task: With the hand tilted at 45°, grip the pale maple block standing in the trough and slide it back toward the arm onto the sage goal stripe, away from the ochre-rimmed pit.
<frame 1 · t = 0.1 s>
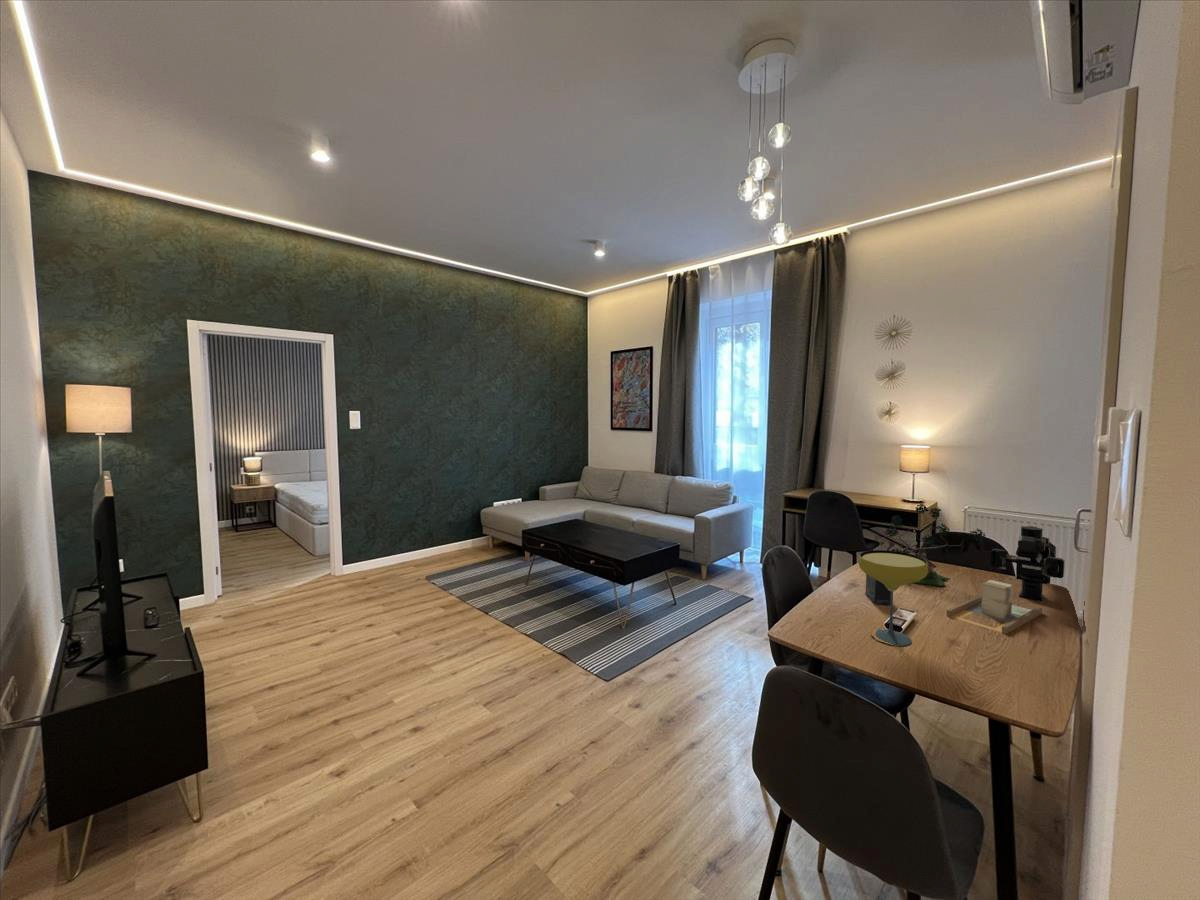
hand: (1022, 568, 161), 17 cm above the table, tool horizontal, fingers open, 9 cm apart
bonsai tree: (929, 583, 196), on the table
trough deck: (996, 618, 162), on the table
maple block: (996, 613, 162), point 1 cm above the table, touching trough deck
cocktail glass: (890, 638, 150), on the table
small box: (878, 600, 180), on the table
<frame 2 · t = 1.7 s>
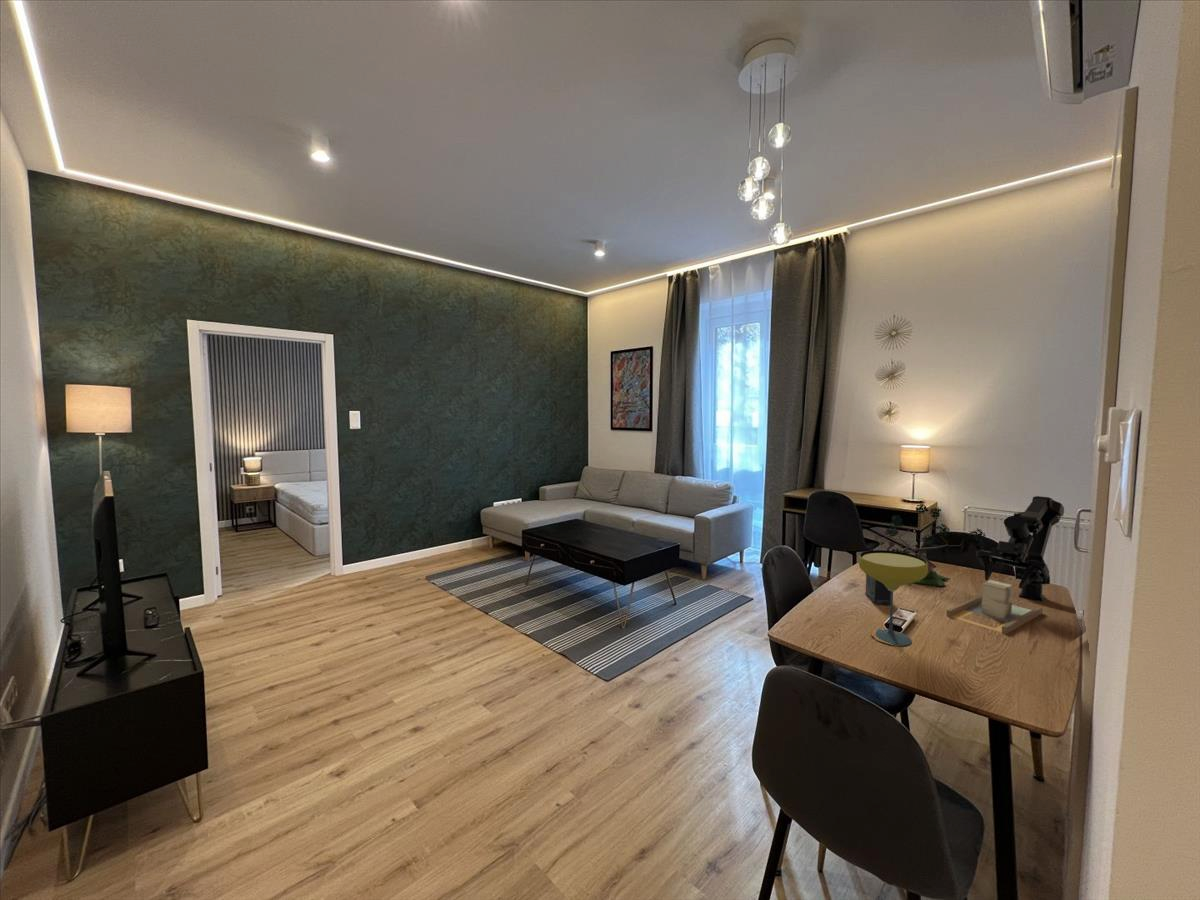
hand: (1002, 583, 163), 11 cm above the table, tool tilted 45°, fingers open, 9 cm apart
nothing on the table moved.
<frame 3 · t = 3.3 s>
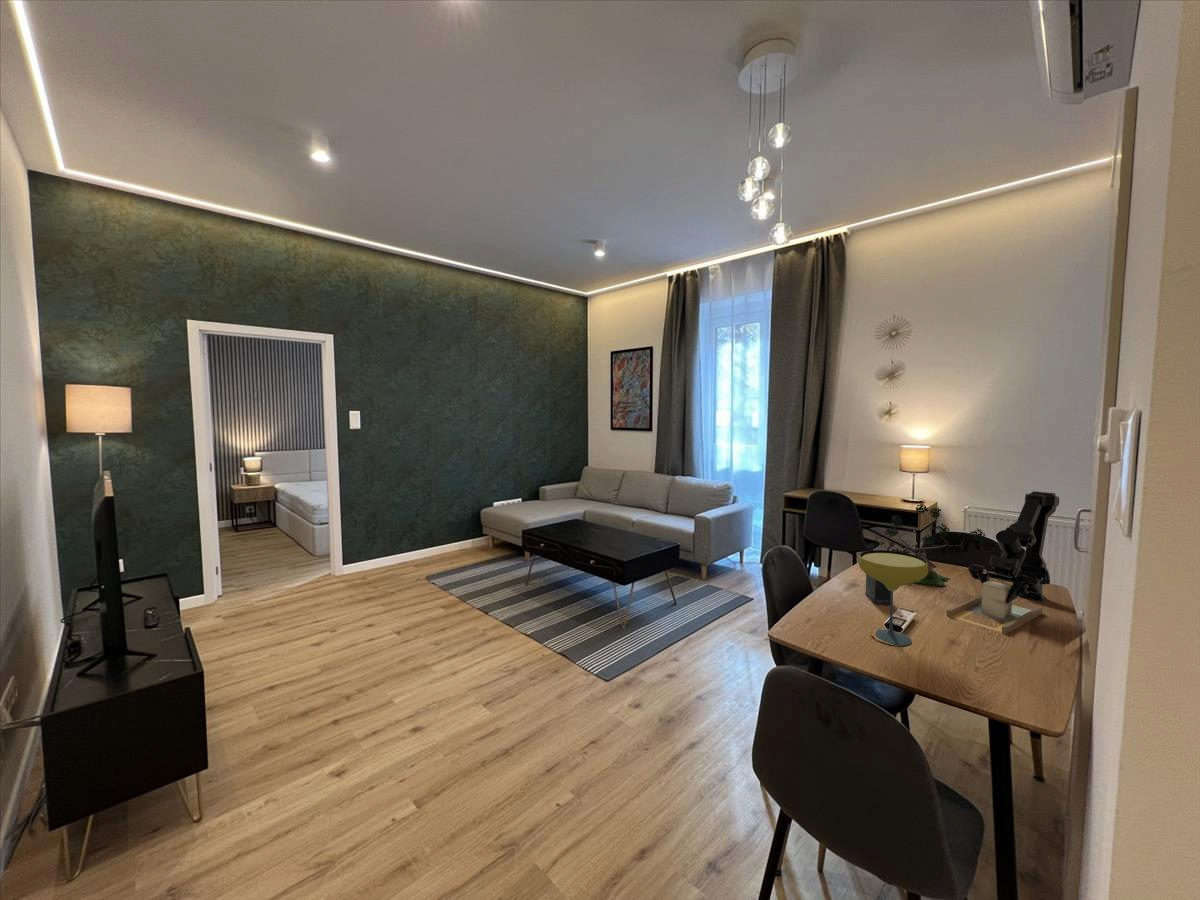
hand: (994, 599, 161), 7 cm above the table, tool tilted 45°, fingers closed on maple block, 6 cm apart
maple block: (996, 613, 162), point 2 cm above the table, touching gripper, trough deck
everything else where it was.
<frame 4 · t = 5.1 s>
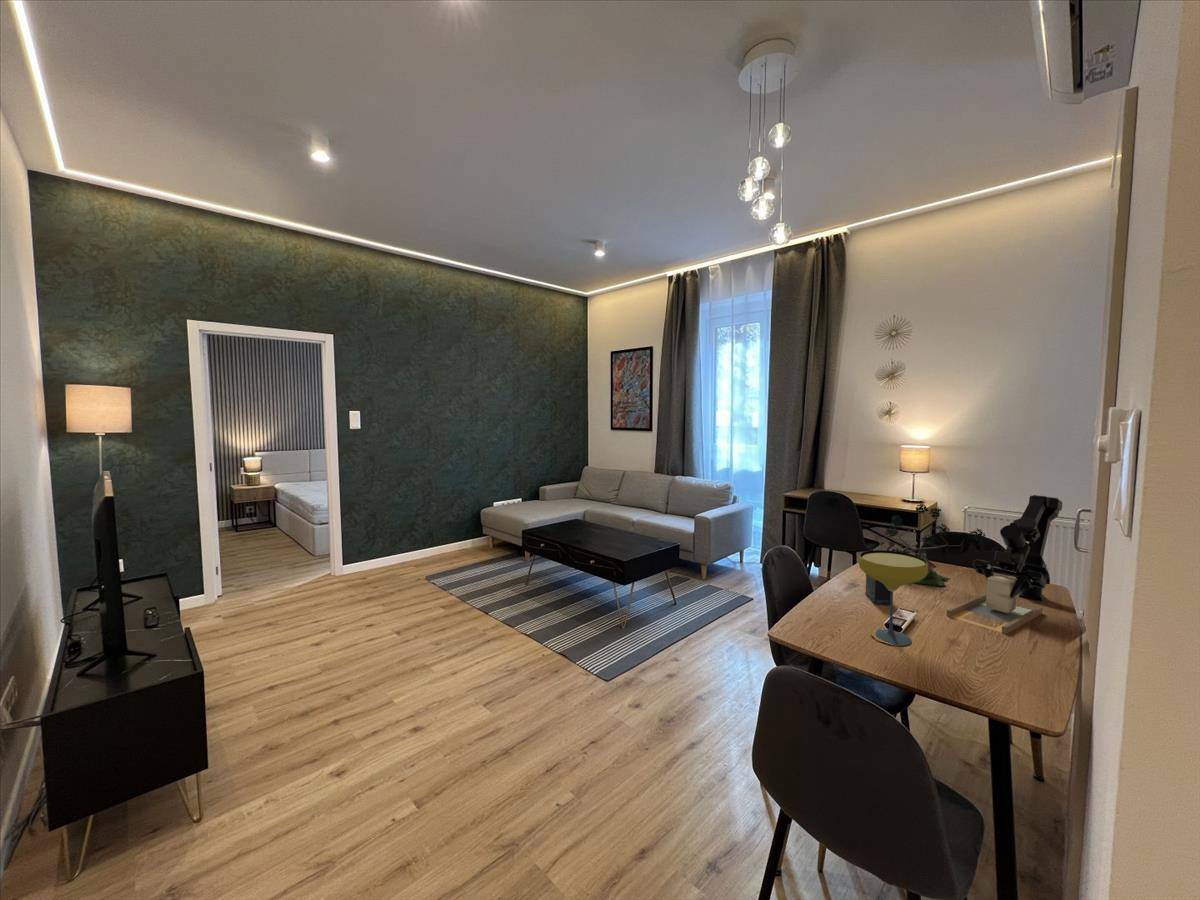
hand: (999, 594, 163), 8 cm above the table, tool tilted 45°, fingers closed on maple block, 6 cm apart
maple block: (1000, 608, 164), point 3 cm above the table, touching gripper
everything else where it was.
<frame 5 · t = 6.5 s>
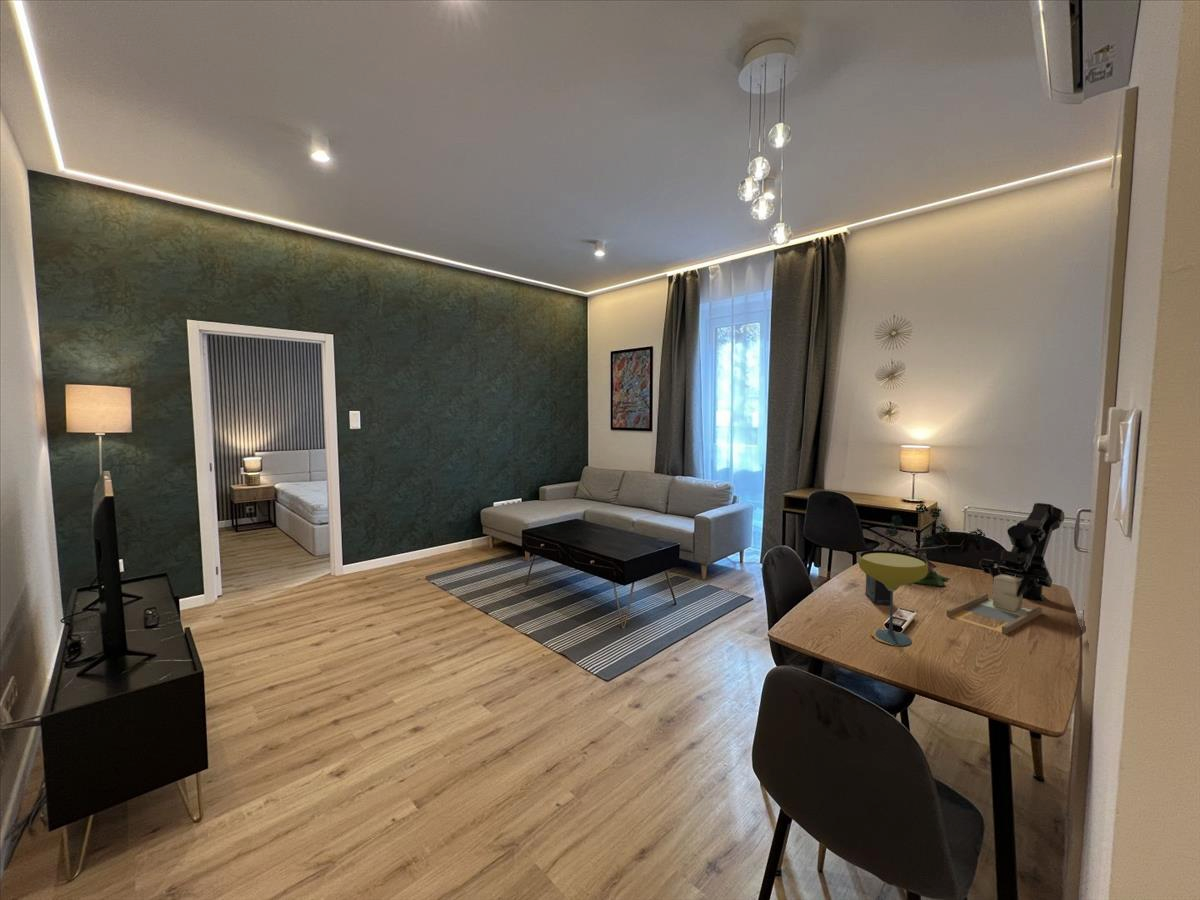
hand: (1006, 592, 165), 7 cm above the table, tool tilted 45°, fingers closed on maple block, 6 cm apart
maple block: (1007, 606, 166), point 2 cm above the table, touching gripper
everything else where it was.
when the fingers open (7 cm above the table, at t = 7.0 s): maple block stays where it is, resting on trough deck.
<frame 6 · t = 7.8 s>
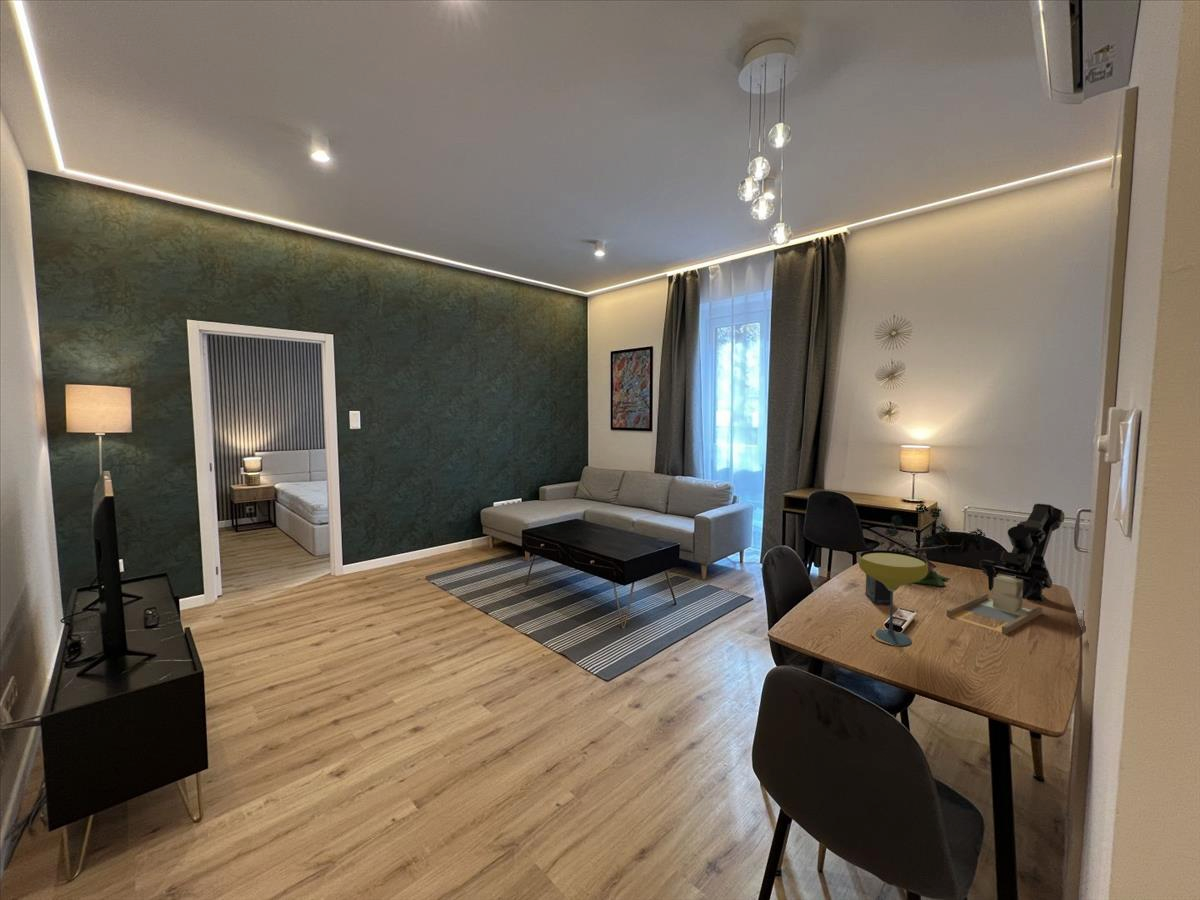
hand: (1006, 593, 165), 7 cm above the table, tool tilted 45°, fingers open, 9 cm apart
maple block: (1007, 607, 166), point 2 cm above the table, touching trough deck
everything else where it was.
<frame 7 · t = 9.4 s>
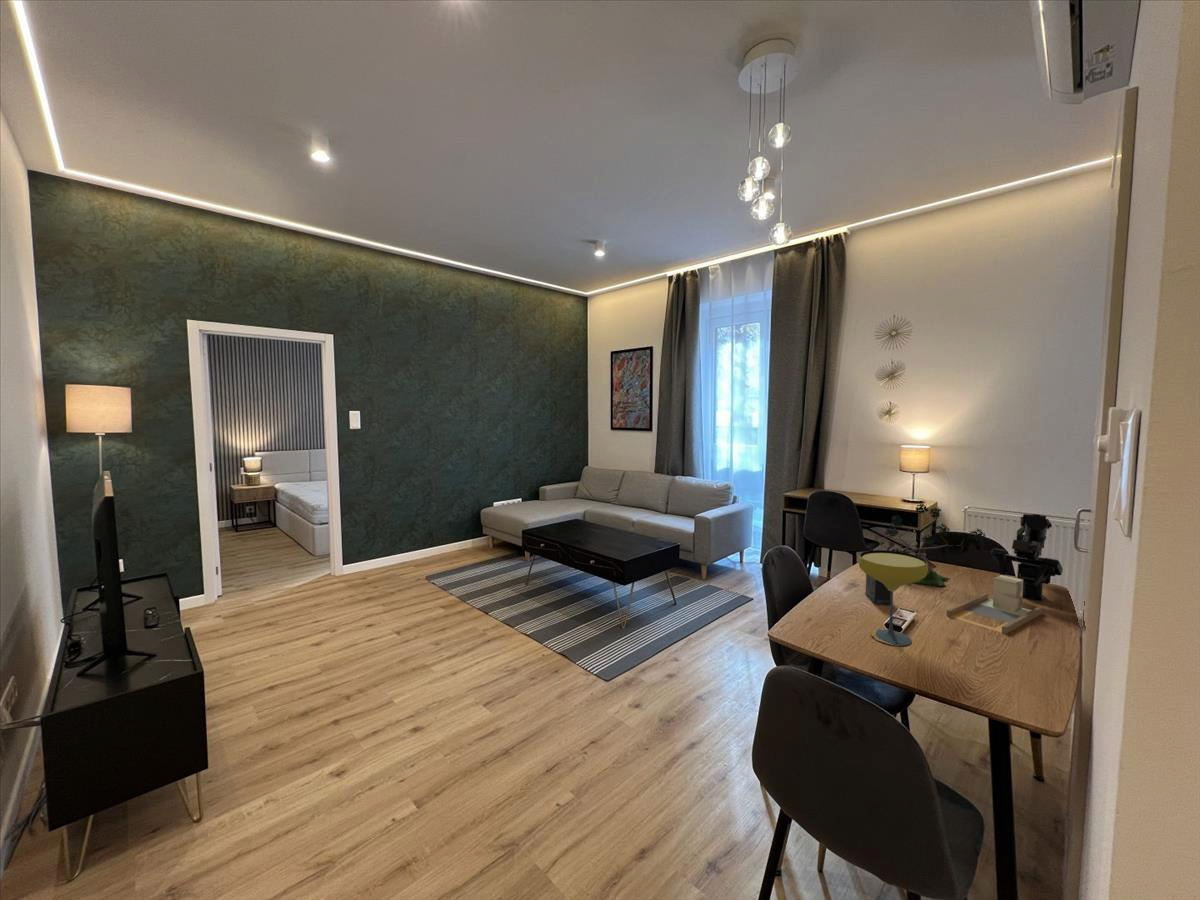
hand: (1017, 581, 169), 9 cm above the table, tool tilted 45°, fingers open, 9 cm apart
nothing on the table moved.
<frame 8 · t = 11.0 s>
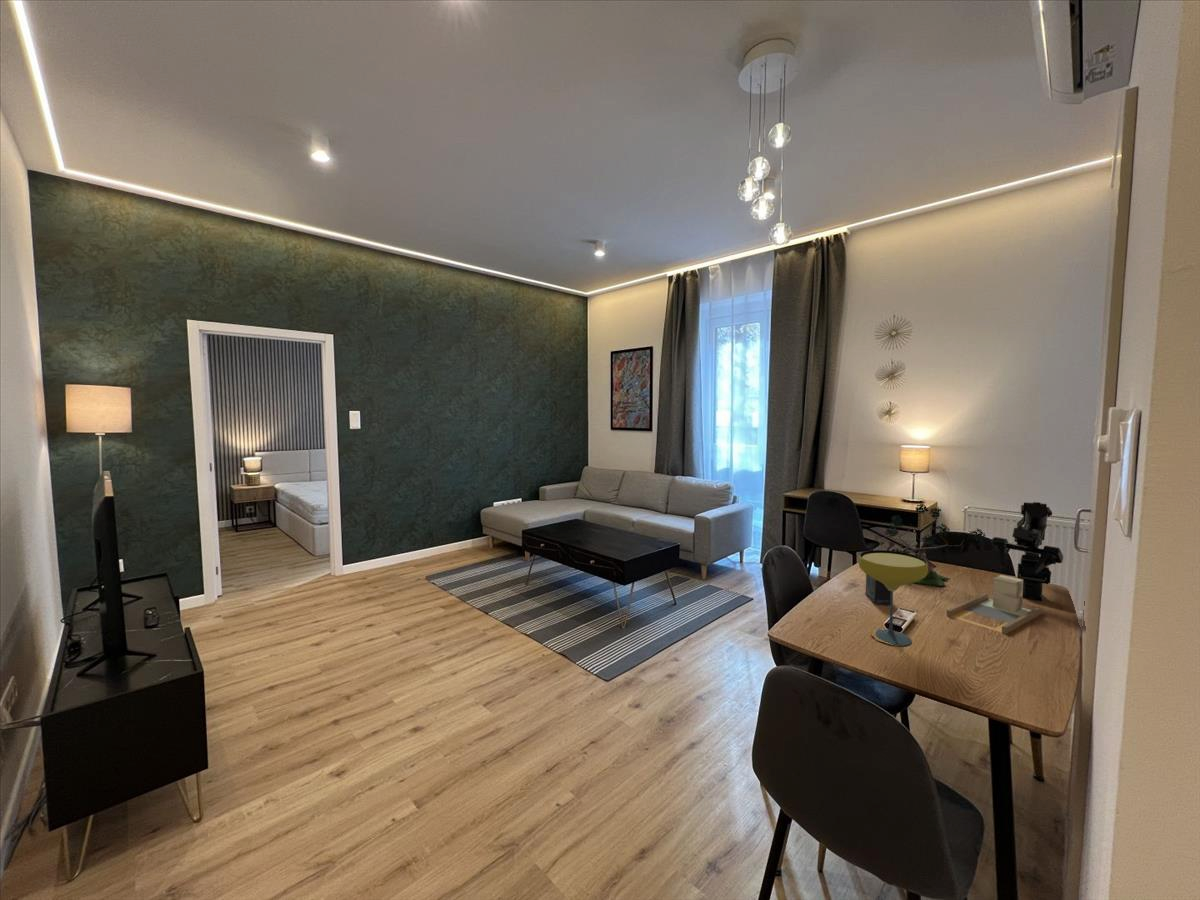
hand: (1017, 569, 169), 14 cm above the table, tool tilted 45°, fingers open, 9 cm apart
nothing on the table moved.
at the end: maple block 0.4 cm from the target spot, point 1.7 cm above the table; maple block tilted 0°; the gripper is holding nothing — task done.
